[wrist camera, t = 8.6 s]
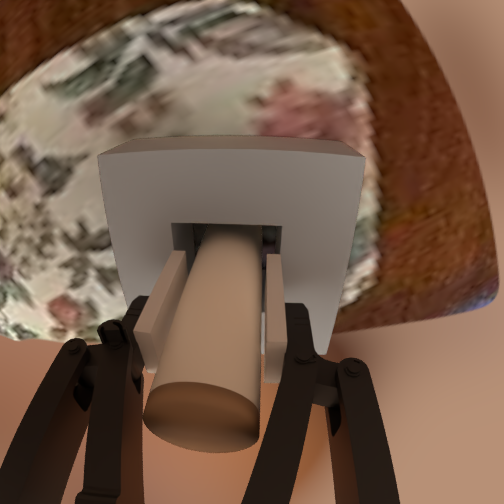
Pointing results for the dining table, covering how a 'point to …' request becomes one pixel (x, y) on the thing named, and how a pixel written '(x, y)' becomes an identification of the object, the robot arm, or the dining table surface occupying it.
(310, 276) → the socket
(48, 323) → the dining table surface
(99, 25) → the dining table surface
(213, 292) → the peg
